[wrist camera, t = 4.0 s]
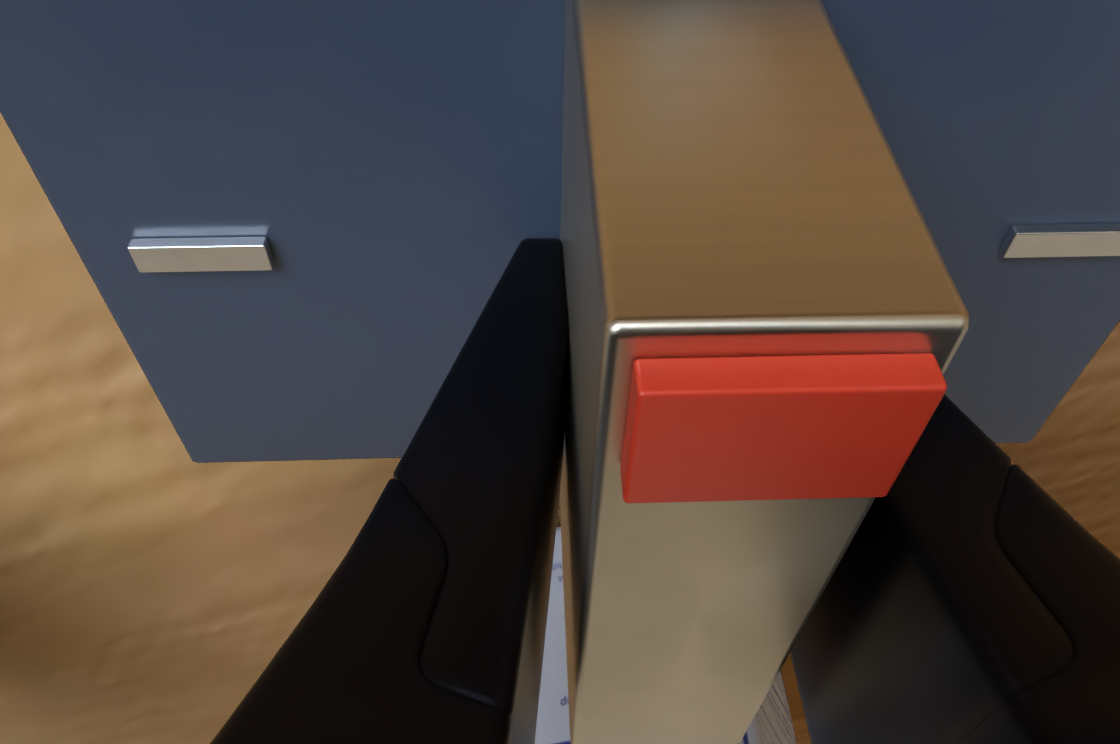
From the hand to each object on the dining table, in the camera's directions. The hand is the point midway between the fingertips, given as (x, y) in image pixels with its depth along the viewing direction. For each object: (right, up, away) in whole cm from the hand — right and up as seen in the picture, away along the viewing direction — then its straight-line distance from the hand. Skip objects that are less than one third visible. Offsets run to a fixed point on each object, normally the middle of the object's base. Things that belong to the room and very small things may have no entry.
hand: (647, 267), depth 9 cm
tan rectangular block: (0, 0, 0) cm, 0 cm away
